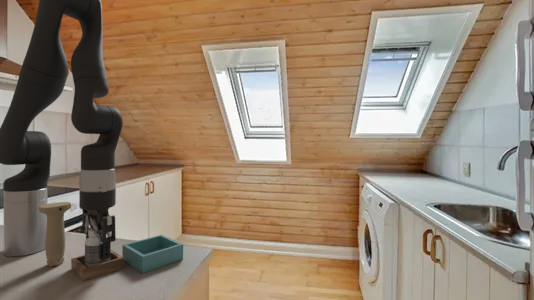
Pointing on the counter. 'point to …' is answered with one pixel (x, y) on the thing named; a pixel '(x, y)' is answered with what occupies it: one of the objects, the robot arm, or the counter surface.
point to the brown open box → (96, 266)
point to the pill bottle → (92, 250)
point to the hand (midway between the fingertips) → (97, 253)
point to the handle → (55, 231)
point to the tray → (152, 253)
